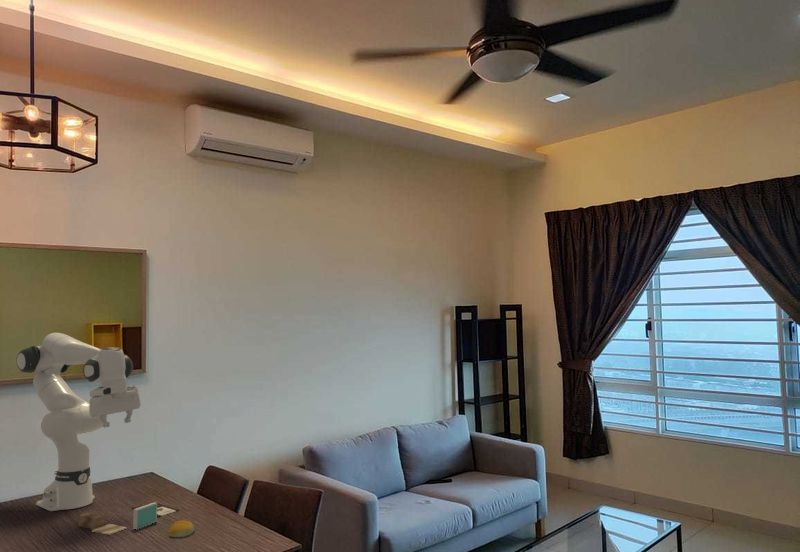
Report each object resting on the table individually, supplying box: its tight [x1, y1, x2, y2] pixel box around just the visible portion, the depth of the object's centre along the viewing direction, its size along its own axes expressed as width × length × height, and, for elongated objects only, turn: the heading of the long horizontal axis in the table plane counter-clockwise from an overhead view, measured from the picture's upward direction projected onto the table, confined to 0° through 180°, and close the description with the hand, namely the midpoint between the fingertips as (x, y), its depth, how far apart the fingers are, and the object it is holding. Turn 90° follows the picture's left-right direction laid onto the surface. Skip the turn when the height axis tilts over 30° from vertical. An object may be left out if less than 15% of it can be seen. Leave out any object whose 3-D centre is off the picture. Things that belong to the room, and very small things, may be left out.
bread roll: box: [168, 519, 195, 538], centre depth 204 cm, size 8×9×4 cm
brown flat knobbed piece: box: [78, 512, 127, 536], centre depth 209 cm, size 19×7×4 cm, turn 64°
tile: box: [132, 501, 158, 531], centre depth 212 cm, size 2×9×7 cm, turn 154°
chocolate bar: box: [131, 501, 180, 518], centre depth 229 cm, size 9×1×18 cm
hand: (117, 424), depth 224 cm, fingers open, 8 cm apart
